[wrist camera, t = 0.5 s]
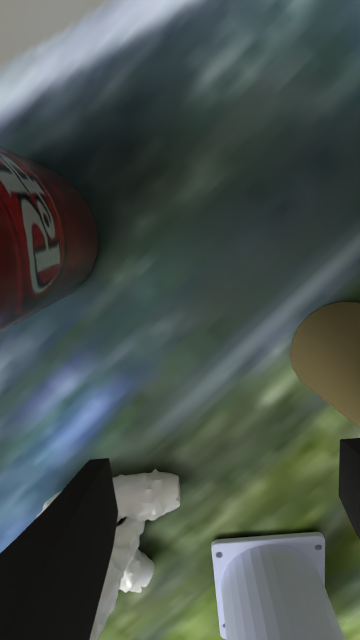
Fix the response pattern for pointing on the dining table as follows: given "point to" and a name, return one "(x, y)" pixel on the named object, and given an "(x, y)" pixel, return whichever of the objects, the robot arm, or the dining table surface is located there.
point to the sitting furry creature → (132, 534)
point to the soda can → (40, 238)
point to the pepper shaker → (331, 356)
